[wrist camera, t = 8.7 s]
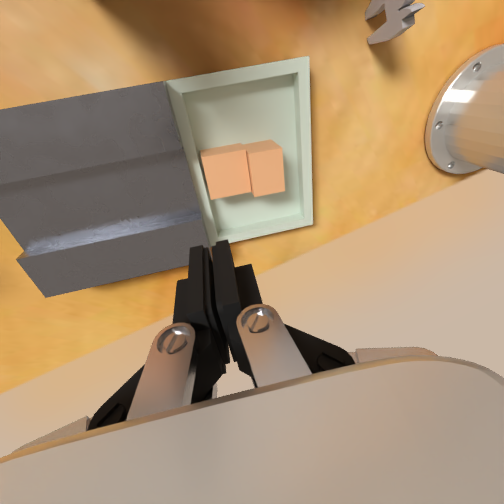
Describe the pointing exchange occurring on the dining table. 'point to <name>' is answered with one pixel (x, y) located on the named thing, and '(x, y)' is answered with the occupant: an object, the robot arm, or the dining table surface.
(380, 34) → the caliper
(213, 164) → the chip
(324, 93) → the dining table surface
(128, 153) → the slot block
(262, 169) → the chip
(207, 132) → the tray
